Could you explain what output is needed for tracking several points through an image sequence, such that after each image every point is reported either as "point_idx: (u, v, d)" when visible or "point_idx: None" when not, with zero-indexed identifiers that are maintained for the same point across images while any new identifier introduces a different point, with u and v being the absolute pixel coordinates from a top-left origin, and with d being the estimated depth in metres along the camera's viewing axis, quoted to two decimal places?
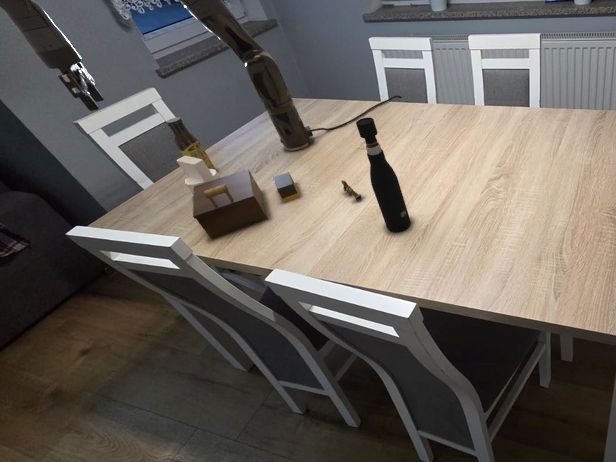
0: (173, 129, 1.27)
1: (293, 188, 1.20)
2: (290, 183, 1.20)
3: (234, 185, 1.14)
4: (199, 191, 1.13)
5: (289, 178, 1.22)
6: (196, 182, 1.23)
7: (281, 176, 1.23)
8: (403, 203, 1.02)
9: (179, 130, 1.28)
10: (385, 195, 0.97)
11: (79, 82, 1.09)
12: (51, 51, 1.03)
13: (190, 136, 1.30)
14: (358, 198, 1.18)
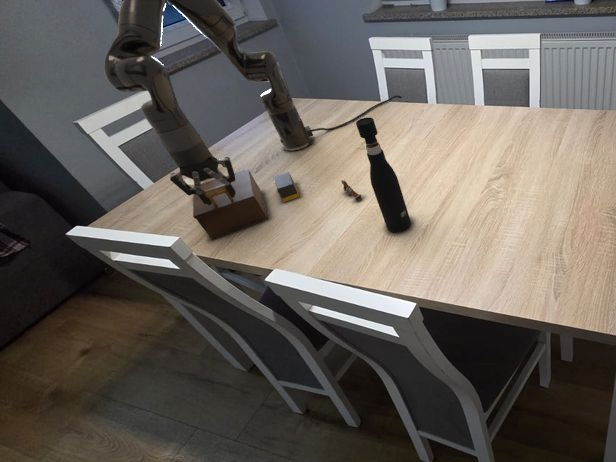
0: None
1: (293, 188, 1.20)
2: (290, 183, 1.20)
3: (234, 185, 1.14)
4: None
5: (289, 178, 1.22)
6: None
7: (281, 176, 1.23)
8: (403, 203, 1.02)
9: None
10: (385, 195, 0.97)
11: (193, 179, 1.00)
12: None
13: None
14: (358, 198, 1.18)
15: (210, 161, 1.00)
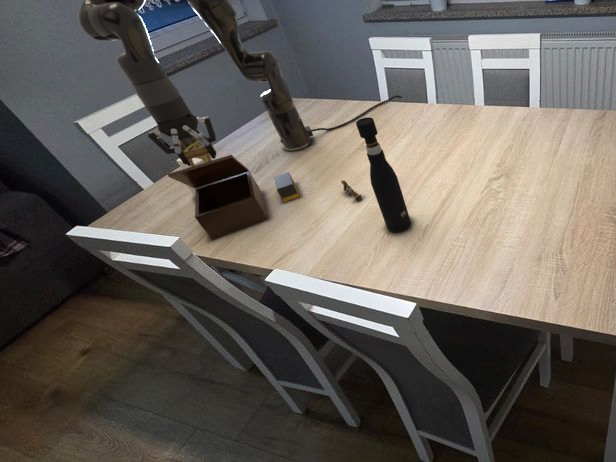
0: None
1: (293, 188, 1.20)
2: (290, 183, 1.20)
3: None
4: None
5: (289, 178, 1.22)
6: None
7: (281, 176, 1.23)
8: (403, 203, 1.02)
9: None
10: (385, 195, 0.97)
11: (172, 137, 0.99)
12: None
13: None
14: (358, 198, 1.18)
15: (189, 118, 0.99)
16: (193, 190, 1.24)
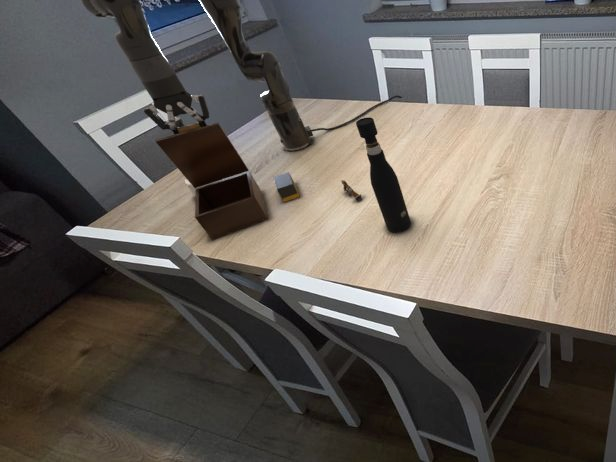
0: None
1: (293, 188, 1.20)
2: (290, 183, 1.20)
3: None
4: None
5: (289, 178, 1.22)
6: None
7: (281, 176, 1.23)
8: (403, 203, 1.02)
9: None
10: (385, 195, 0.97)
11: (167, 113, 1.04)
12: (141, 82, 0.98)
13: None
14: (358, 198, 1.18)
15: (183, 96, 1.03)
16: (193, 190, 1.24)
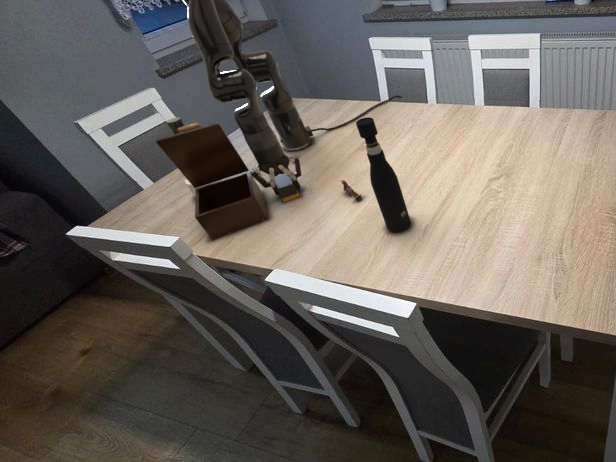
0: (173, 129, 1.27)
1: (293, 188, 1.20)
2: (290, 183, 1.20)
3: None
4: None
5: (289, 178, 1.22)
6: None
7: (281, 176, 1.23)
8: (403, 203, 1.02)
9: None
10: (385, 195, 0.97)
11: (268, 174, 1.18)
12: (250, 149, 1.12)
13: None
14: (358, 198, 1.18)
15: (283, 159, 1.17)
16: (193, 190, 1.24)
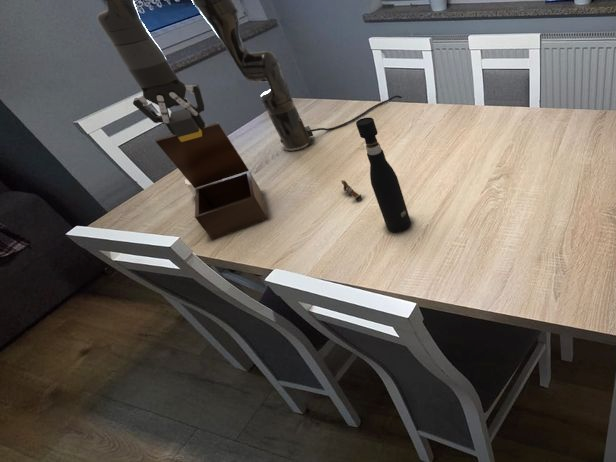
0: None
1: (192, 124, 0.96)
2: (187, 117, 0.95)
3: None
4: None
5: (188, 113, 0.98)
6: None
7: (180, 111, 0.99)
8: (403, 203, 1.02)
9: None
10: (385, 195, 0.97)
11: (158, 105, 0.94)
12: (128, 69, 0.88)
13: None
14: (358, 198, 1.18)
15: (176, 85, 0.93)
16: (193, 190, 1.24)
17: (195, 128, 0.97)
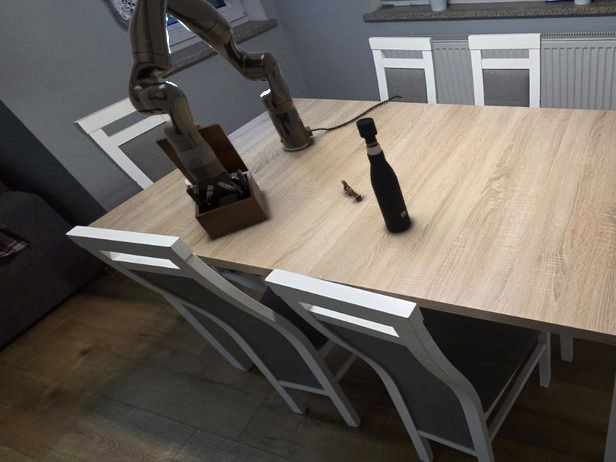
0: None
1: None
2: None
3: None
4: None
5: (235, 200, 1.13)
6: None
7: (227, 198, 1.15)
8: (403, 203, 1.02)
9: None
10: (385, 195, 0.97)
11: None
12: None
13: None
14: (358, 198, 1.18)
15: (224, 175, 1.08)
16: None
17: None
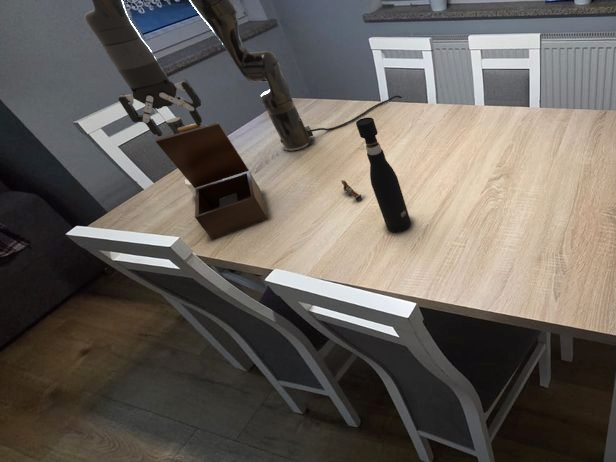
0: (173, 129, 1.27)
1: None
2: None
3: None
4: None
5: (235, 200, 1.13)
6: None
7: (227, 198, 1.15)
8: (403, 203, 1.02)
9: None
10: (385, 195, 0.97)
11: None
12: None
13: None
14: (358, 198, 1.18)
15: (166, 85, 0.92)
16: (193, 190, 1.24)
17: None
